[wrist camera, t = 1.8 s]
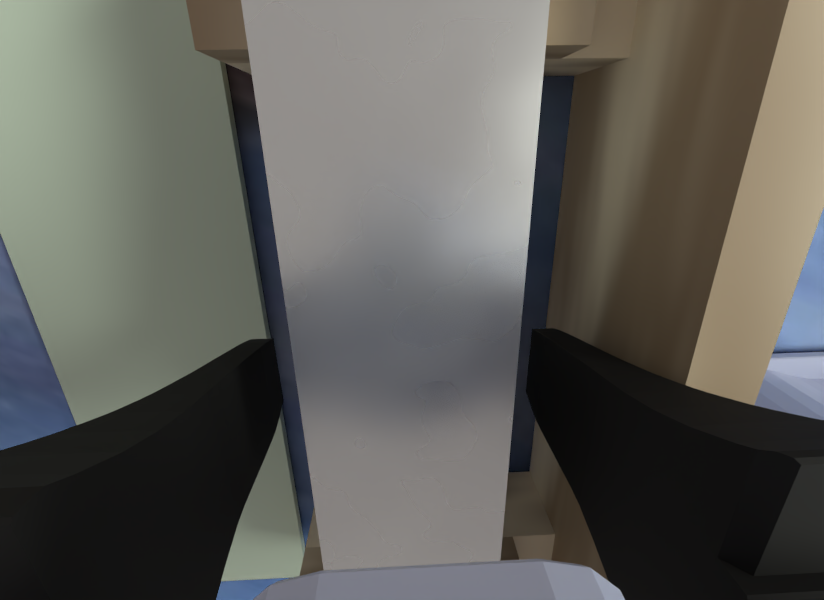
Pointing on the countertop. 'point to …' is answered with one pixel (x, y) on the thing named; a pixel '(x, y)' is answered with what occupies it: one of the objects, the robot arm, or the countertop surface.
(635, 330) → the rail stand
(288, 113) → the rail
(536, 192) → the countertop surface
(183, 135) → the mat
